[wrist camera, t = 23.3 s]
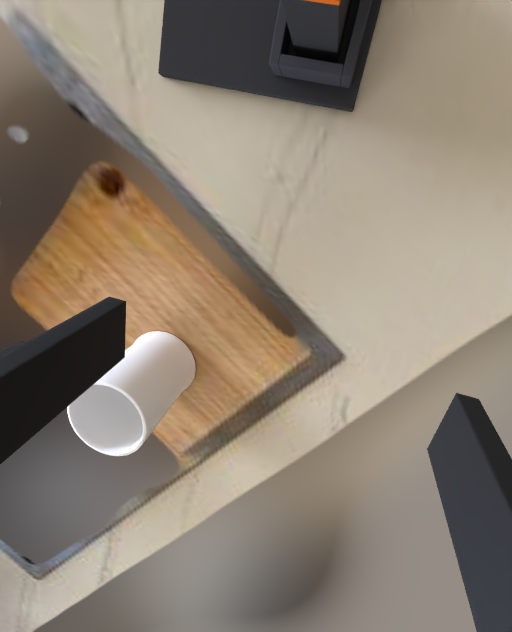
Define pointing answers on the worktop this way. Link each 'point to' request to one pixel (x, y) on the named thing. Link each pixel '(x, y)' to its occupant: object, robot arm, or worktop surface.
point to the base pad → (261, 50)
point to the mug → (133, 394)
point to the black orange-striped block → (317, 27)
